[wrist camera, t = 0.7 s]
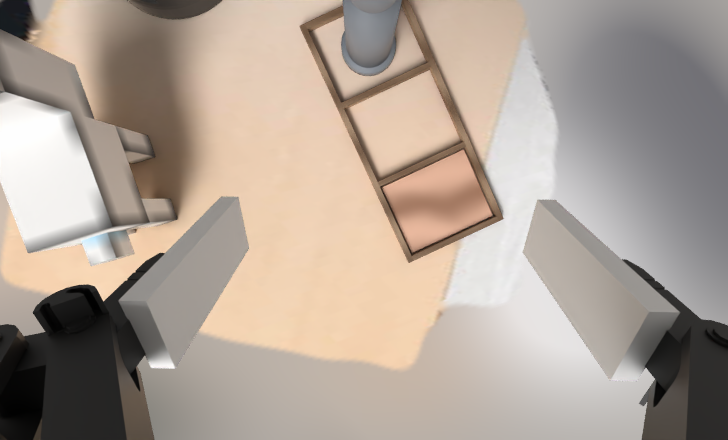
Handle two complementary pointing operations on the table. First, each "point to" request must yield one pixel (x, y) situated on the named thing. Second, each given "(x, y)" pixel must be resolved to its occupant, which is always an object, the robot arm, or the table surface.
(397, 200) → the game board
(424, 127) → the table surface
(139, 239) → the table surface
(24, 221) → the toy llama
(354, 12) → the pawn
